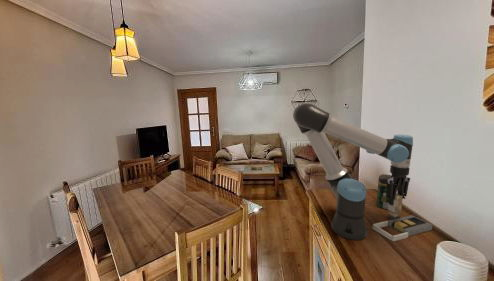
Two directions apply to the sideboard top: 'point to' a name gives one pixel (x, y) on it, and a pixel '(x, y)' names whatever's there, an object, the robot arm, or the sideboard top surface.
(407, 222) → the olive small block
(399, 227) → the chip
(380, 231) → the white u-shaped frame
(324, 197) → the sideboard top surface
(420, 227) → the grey shallow tray
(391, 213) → the beige tall block
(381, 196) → the coffee jar
